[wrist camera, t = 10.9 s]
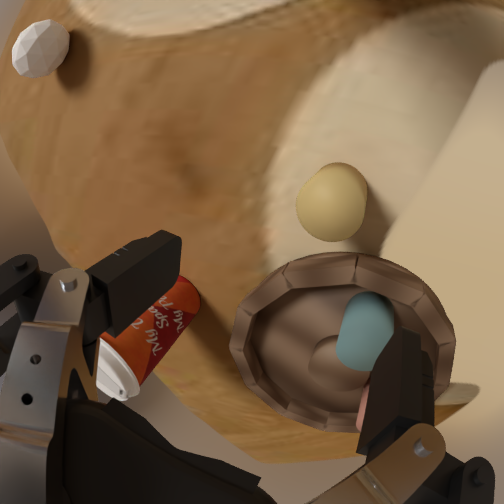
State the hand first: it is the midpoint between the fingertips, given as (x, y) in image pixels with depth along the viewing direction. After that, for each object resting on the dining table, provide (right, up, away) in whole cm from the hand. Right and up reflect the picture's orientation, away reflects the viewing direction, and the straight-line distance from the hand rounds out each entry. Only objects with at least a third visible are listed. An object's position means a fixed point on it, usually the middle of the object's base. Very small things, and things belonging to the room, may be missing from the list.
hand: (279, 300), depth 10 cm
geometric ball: (-25, +28, +16) cm, 40 cm away
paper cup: (-9, -3, +25) cm, 26 cm away
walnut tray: (+8, -8, +19) cm, 22 cm away
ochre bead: (+6, +6, +13) cm, 15 cm away
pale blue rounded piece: (+9, -4, +15) cm, 18 cm away
